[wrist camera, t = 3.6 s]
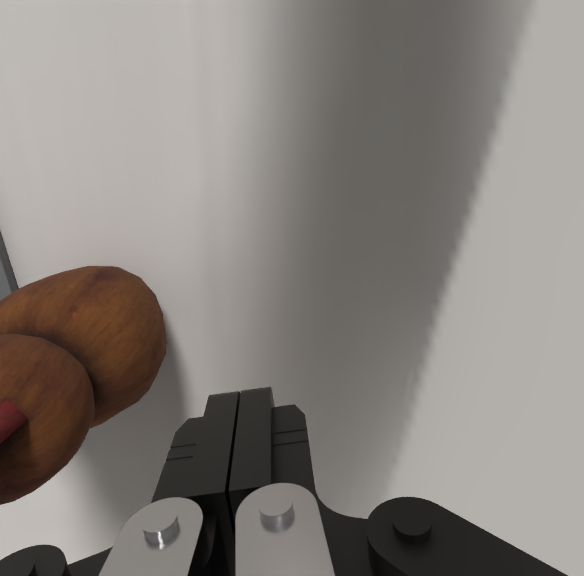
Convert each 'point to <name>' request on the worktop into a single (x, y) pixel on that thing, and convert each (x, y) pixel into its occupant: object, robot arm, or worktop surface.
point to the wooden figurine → (70, 366)
